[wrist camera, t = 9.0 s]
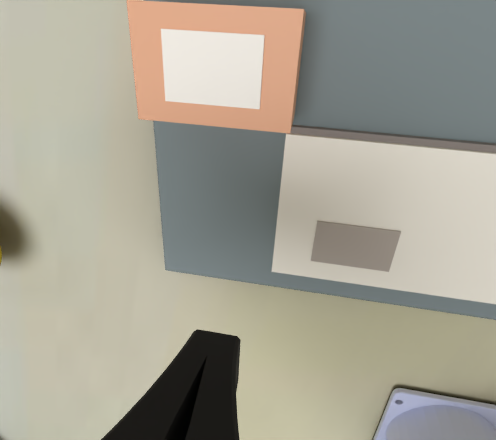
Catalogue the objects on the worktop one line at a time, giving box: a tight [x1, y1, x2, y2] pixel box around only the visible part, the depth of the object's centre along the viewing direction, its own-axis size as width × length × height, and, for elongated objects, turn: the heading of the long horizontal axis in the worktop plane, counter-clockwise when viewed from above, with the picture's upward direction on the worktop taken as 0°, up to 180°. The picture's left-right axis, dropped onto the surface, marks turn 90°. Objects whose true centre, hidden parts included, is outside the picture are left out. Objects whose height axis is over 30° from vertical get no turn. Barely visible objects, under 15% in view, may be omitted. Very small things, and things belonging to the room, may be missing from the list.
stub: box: [127, 0, 306, 134], centre depth 14 cm, size 4×6×3 cm, turn 87°
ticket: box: [272, 125, 496, 304], centre depth 17 cm, size 8×18×1 cm, turn 87°
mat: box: [144, 0, 496, 320], centre depth 16 cm, size 16×27×1 cm, turn 87°
